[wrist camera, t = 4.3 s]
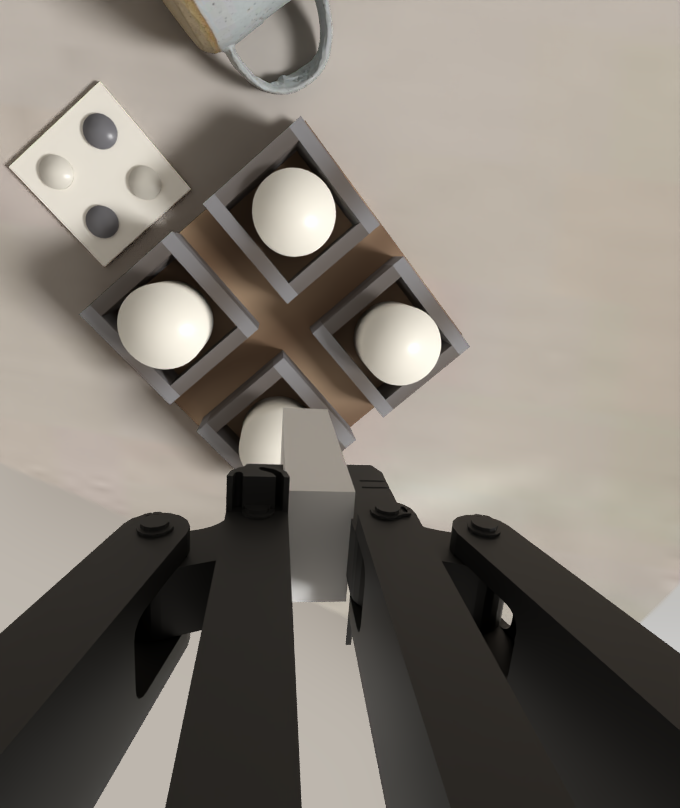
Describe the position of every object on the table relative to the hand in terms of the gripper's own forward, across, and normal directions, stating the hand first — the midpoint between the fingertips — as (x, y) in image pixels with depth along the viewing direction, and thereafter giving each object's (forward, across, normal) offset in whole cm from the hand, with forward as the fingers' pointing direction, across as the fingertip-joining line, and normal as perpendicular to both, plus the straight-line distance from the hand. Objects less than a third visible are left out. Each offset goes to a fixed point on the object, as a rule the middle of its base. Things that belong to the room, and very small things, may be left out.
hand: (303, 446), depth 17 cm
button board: (+17, -1, +2) cm, 17 cm away
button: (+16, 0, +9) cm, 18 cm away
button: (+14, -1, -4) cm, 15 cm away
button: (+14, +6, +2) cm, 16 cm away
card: (+17, -11, +10) cm, 23 cm away
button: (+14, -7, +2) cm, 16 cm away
